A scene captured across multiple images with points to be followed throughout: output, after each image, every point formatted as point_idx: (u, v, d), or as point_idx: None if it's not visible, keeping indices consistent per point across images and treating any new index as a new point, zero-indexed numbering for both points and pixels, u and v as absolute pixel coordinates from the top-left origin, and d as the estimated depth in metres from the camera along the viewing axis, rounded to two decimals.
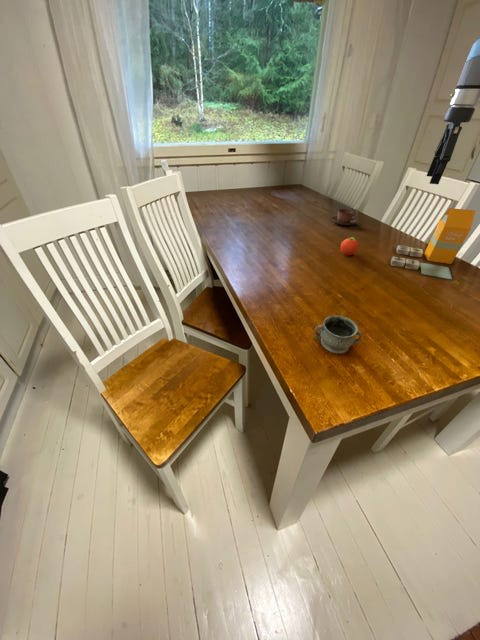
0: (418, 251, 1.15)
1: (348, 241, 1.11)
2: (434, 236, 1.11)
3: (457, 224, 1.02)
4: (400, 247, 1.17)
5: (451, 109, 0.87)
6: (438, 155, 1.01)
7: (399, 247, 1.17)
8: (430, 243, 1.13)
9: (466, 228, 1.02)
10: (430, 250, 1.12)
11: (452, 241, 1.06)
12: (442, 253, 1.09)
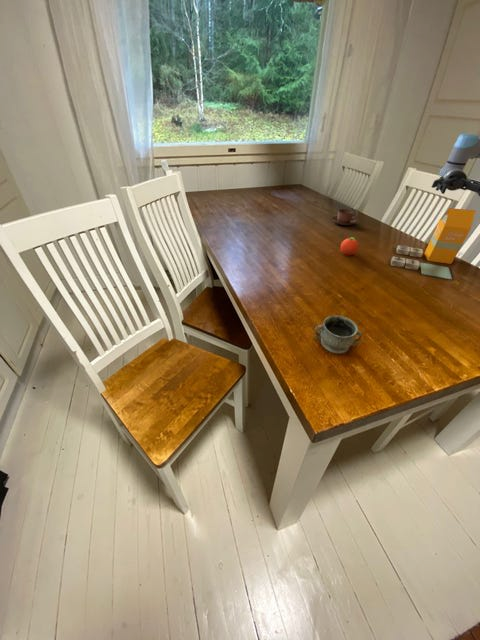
0: (418, 251, 1.15)
1: (348, 241, 1.11)
2: (434, 236, 1.11)
3: (457, 224, 1.02)
4: (400, 247, 1.17)
5: None
6: None
7: (399, 247, 1.17)
8: (430, 243, 1.13)
9: (466, 228, 1.02)
10: (430, 250, 1.12)
11: (452, 241, 1.06)
12: (442, 253, 1.09)
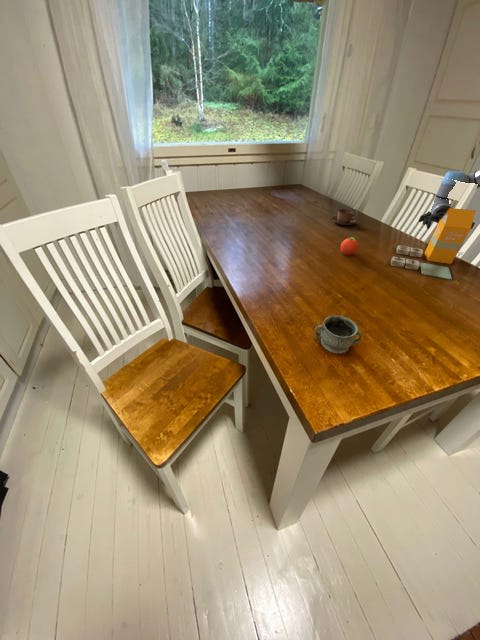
0: (418, 251, 1.15)
1: (348, 241, 1.11)
2: (434, 236, 1.11)
3: (457, 224, 1.02)
4: (400, 247, 1.17)
5: None
6: None
7: (399, 247, 1.17)
8: (430, 243, 1.13)
9: (466, 228, 1.02)
10: (430, 250, 1.12)
11: (452, 241, 1.06)
12: (442, 253, 1.09)
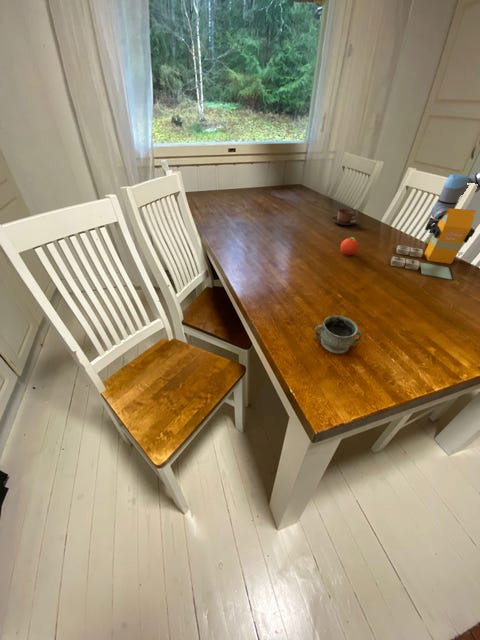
0: (418, 251, 1.15)
1: (348, 241, 1.11)
2: None
3: (457, 224, 1.02)
4: (400, 247, 1.17)
5: None
6: None
7: (399, 247, 1.17)
8: (430, 243, 1.13)
9: (466, 228, 1.02)
10: (430, 250, 1.12)
11: (452, 241, 1.06)
12: (442, 253, 1.09)
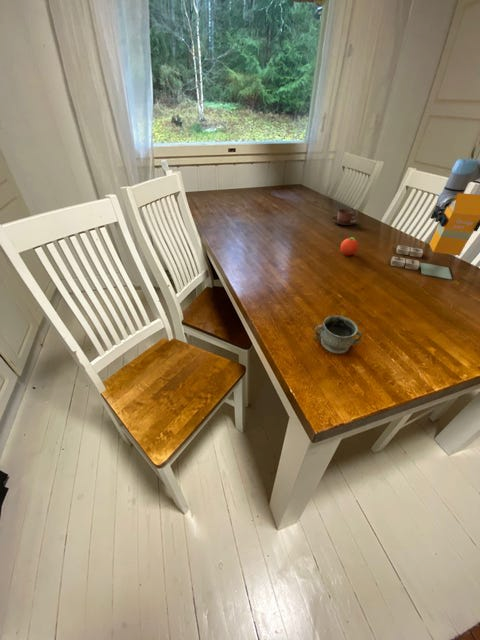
0: (418, 251, 1.15)
1: (348, 241, 1.11)
2: (440, 225, 1.01)
3: (466, 211, 0.93)
4: (400, 247, 1.17)
5: None
6: None
7: (399, 247, 1.17)
8: (436, 233, 1.04)
9: (476, 215, 0.92)
10: (436, 241, 1.02)
11: (461, 230, 0.96)
12: (449, 244, 0.99)
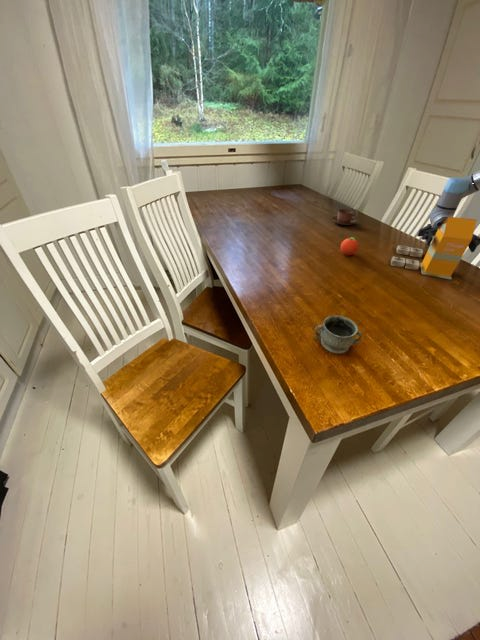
0: (418, 251, 1.15)
1: (348, 241, 1.11)
2: (432, 246, 1.02)
3: (457, 234, 0.94)
4: (400, 247, 1.17)
5: None
6: (471, 241, 0.99)
7: (399, 247, 1.17)
8: (427, 254, 1.05)
9: (466, 239, 0.93)
10: (427, 262, 1.03)
11: (451, 252, 0.97)
12: (441, 265, 1.00)
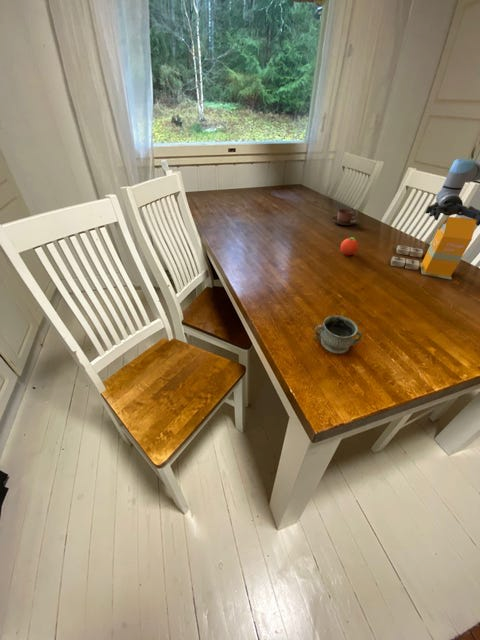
0: (418, 251, 1.15)
1: (348, 241, 1.11)
2: (432, 246, 1.02)
3: (457, 234, 0.94)
4: (400, 247, 1.17)
5: None
6: None
7: (399, 247, 1.17)
8: (427, 254, 1.05)
9: (466, 239, 0.93)
10: (427, 262, 1.03)
11: (451, 252, 0.97)
12: (441, 265, 1.00)
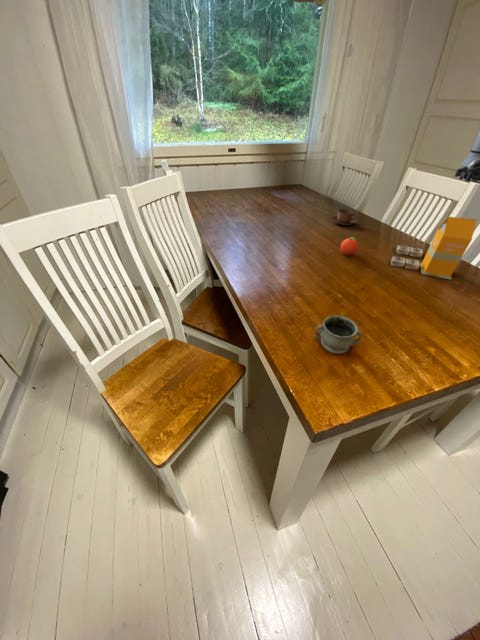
0: (418, 251, 1.15)
1: (348, 241, 1.11)
2: (432, 246, 1.02)
3: (457, 234, 0.94)
4: (400, 247, 1.17)
5: None
6: None
7: (399, 247, 1.17)
8: (427, 254, 1.05)
9: (466, 239, 0.93)
10: (427, 262, 1.03)
11: (451, 252, 0.97)
12: (441, 265, 1.00)
